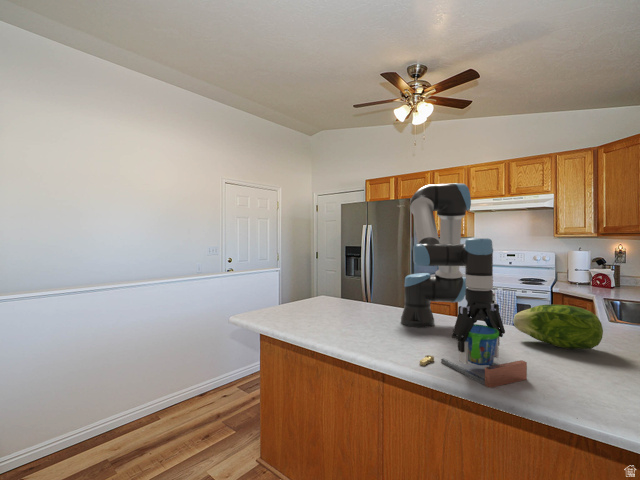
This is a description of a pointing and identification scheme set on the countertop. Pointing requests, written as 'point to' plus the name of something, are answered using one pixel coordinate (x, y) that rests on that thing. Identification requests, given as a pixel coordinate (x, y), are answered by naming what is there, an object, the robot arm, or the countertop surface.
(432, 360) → the brass key
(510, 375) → the bracket
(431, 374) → the countertop surface
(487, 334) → the snack cup
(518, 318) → the lettuce
